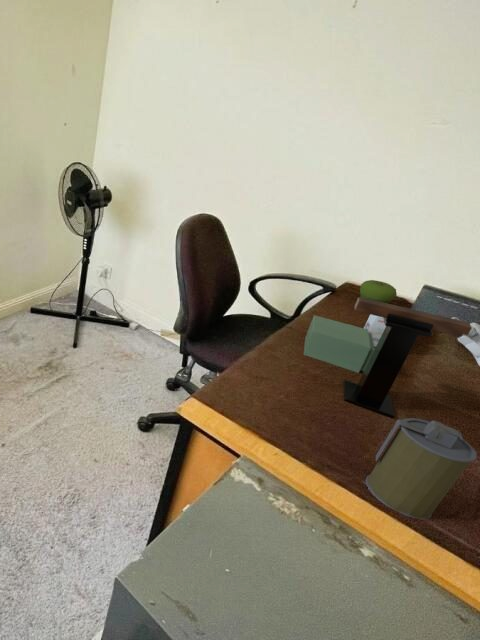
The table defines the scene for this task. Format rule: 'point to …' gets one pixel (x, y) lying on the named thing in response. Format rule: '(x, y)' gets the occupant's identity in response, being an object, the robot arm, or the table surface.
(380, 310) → the rod
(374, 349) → the drawer
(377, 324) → the ink box
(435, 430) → the canister
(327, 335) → the cabinet
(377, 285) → the apple
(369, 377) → the stand
